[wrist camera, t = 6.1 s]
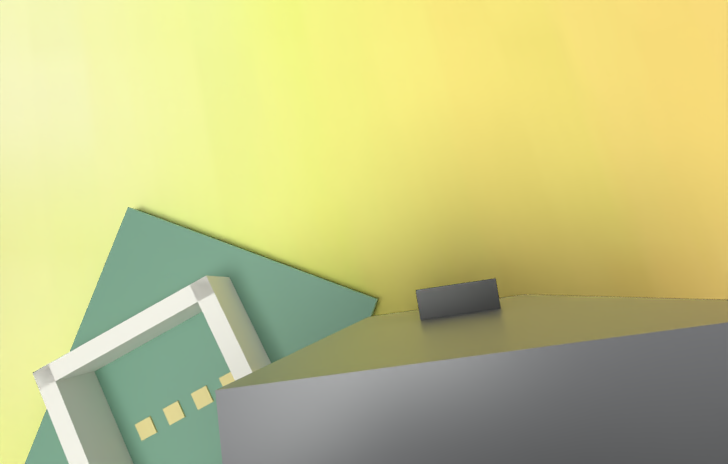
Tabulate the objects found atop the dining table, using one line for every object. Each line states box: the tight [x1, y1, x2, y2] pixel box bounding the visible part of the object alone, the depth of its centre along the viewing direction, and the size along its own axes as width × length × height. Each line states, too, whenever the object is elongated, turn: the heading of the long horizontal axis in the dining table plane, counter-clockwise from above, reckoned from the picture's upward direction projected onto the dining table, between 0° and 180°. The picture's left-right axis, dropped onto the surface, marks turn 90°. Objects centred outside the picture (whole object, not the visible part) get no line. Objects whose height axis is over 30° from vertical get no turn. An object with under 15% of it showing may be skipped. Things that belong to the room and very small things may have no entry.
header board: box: [25, 207, 378, 464], centre depth 22 cm, size 13×15×3 cm
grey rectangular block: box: [215, 279, 728, 464], centre depth 9 cm, size 5×5×12 cm
